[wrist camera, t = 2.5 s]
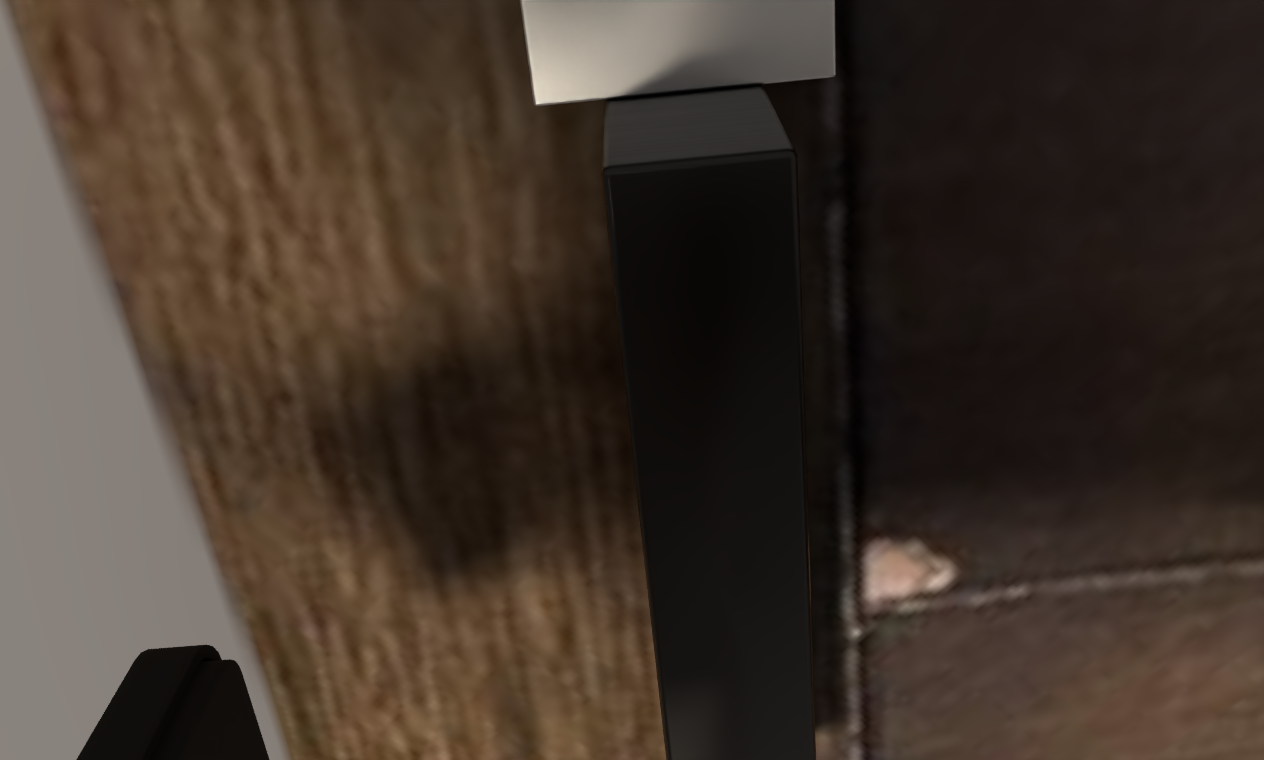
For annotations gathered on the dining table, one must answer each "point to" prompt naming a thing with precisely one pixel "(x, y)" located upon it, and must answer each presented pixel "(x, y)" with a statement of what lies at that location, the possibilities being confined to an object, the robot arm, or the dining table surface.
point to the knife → (707, 340)
